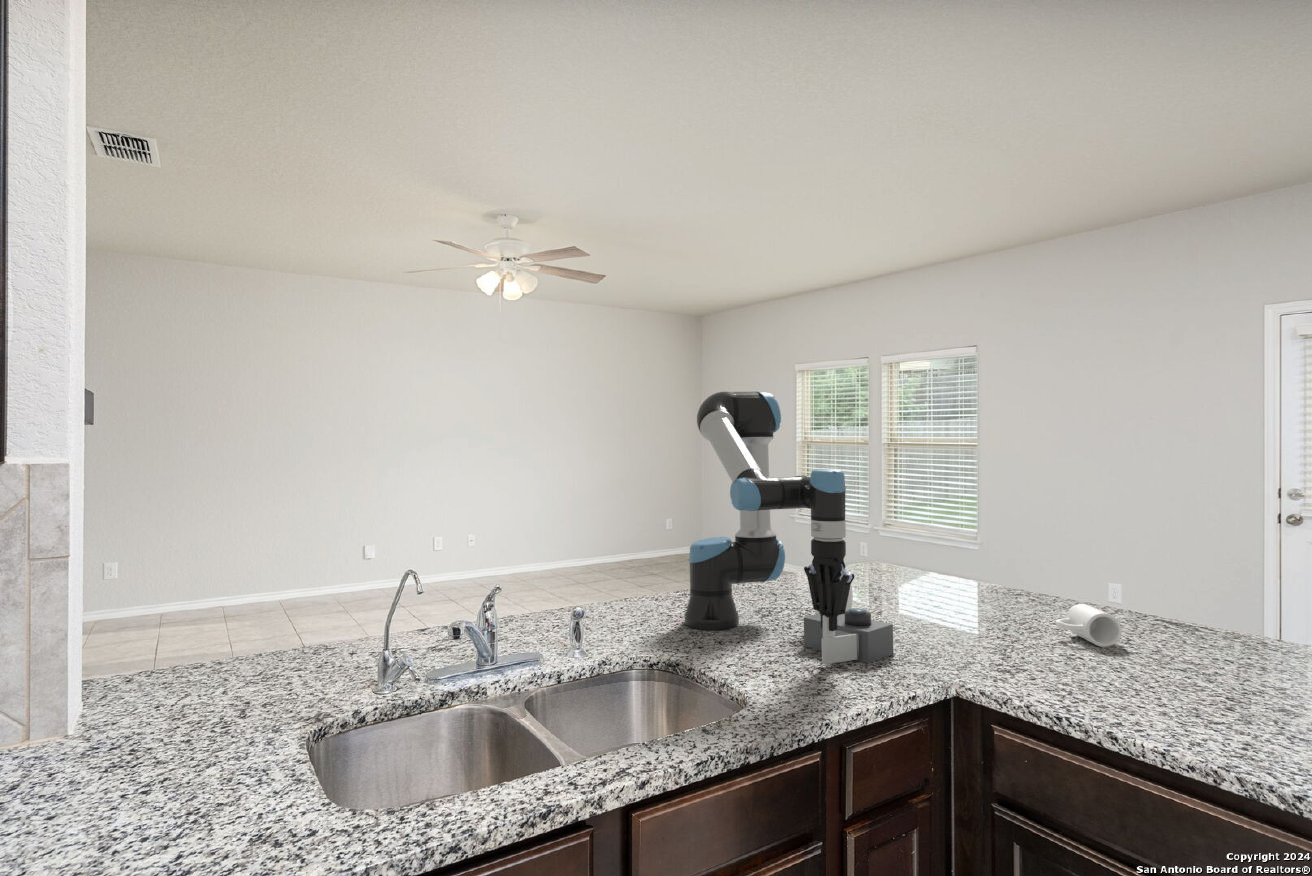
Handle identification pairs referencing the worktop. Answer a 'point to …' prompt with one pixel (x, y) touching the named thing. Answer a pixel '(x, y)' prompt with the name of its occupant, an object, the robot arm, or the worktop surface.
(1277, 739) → the worktop surface
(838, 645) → the side door
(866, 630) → the camera body
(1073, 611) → the mug
